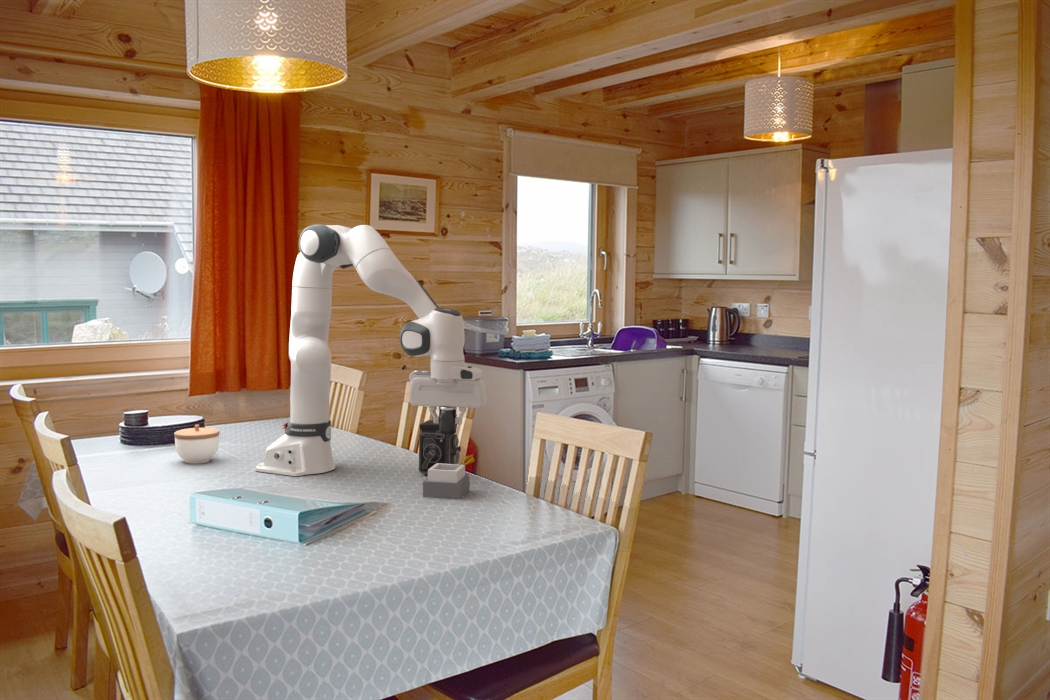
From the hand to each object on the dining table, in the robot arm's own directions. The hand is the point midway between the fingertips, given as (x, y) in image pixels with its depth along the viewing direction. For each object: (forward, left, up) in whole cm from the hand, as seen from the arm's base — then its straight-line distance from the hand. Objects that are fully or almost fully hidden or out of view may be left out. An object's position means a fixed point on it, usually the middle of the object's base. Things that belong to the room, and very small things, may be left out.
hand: (447, 423), depth 208 cm
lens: (0, 0, -2) cm, 2 cm away
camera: (-8, +21, -19) cm, 29 cm away
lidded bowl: (-83, +17, -19) cm, 87 cm away
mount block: (0, 0, -19) cm, 19 cm away
